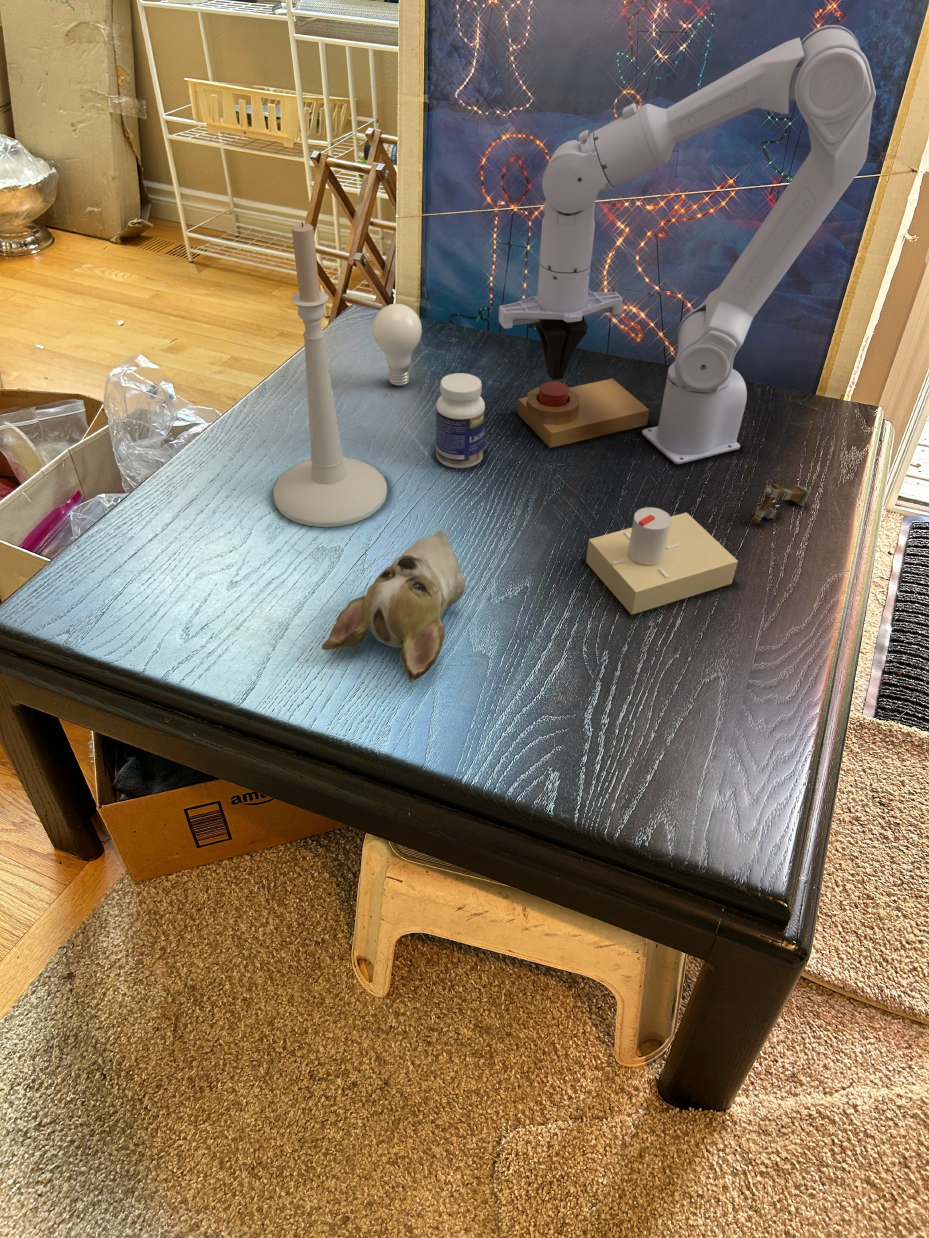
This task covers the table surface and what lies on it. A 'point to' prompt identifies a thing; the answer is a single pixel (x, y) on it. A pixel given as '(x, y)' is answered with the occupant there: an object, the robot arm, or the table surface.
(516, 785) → the table surface
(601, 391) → the button block
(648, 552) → the tap knob
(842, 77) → the robot arm
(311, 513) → the candlestick
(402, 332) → the lightbulb
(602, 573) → the rotary dial block
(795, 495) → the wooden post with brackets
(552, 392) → the stop button
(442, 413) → the pill bottle
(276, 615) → the table surface
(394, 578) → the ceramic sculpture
